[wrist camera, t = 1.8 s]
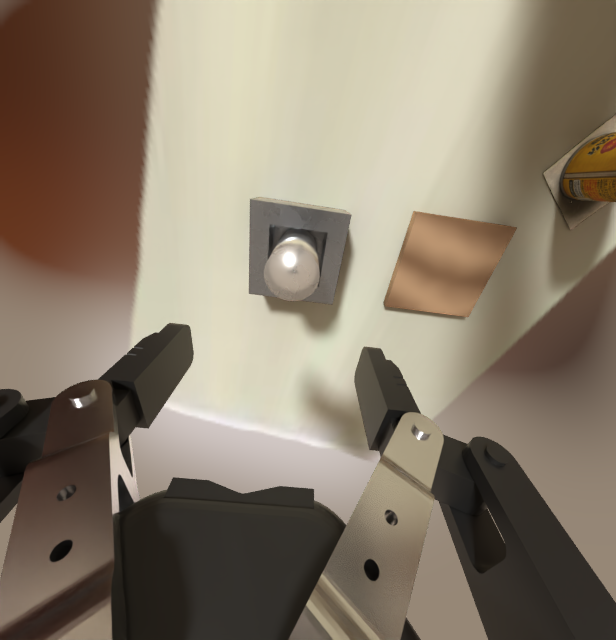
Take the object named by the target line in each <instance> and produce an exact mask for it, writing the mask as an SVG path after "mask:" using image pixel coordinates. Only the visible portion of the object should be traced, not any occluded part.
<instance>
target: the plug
mask: <svg viewBox="0 0 616 640" xmlns="http://www.w3.org/2000/svg"><path fill="white" fill-rule="evenodd" d="M264 278H265V282H266V285H267V287H268V288H269V290H270V291H271V292H272V293H273V294H274V295H276V296H277V297H279V298H281V299H283V300H286V301H299V300H303V299H305V298H307V297H309V296H310V295H311V294H312V293H313V292H314V291H315V289H316V288H317V286H318V283H319V278H320V272H319V262H318V252H317V244H316V241H315V239H314V237H313V236H312V235H311V234H310V233H309V232H308V231H306V230H304V229H300V228H294V229H290V230H288V231H287V232H285V233H284V234H283V235H282V237H281V238H280V240H279V242H278V243H277V245H276V247H275V249H274V250H273V252H272V254H271V255H270V257H269V259H268V261H267V262H266V265H265V268H264Z"/></svg>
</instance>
